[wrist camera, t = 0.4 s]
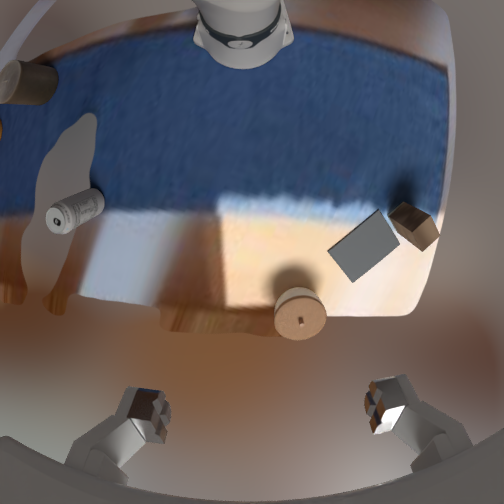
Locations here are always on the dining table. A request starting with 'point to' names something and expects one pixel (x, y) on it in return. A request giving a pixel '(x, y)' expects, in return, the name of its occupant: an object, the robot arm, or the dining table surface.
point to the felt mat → (364, 246)
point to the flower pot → (0, 129)
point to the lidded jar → (299, 314)
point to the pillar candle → (27, 83)
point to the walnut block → (414, 225)
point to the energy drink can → (74, 211)
